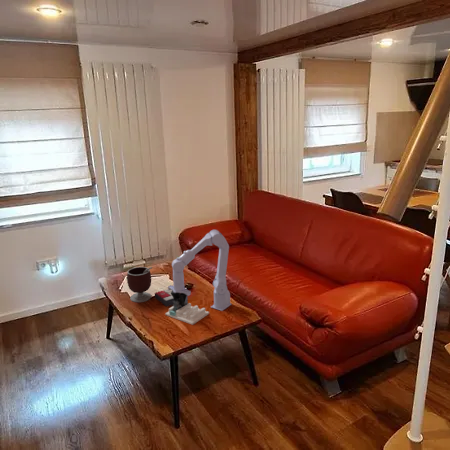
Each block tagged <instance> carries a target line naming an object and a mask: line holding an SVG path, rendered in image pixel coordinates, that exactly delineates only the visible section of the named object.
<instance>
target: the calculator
mask: <svg viewBox="0 0 450 450" xmlns="http://www.w3.org/2000/svg"><path fill="white" fill-rule="evenodd" d="M171 292H172V290H168V288H166V289H164V290H160V291H157V292H155V293H154V299H156V300H157V301H159V302H160V303H162V305H164V306H165V307H170V306H173V300H174V298H173V296H172V295H171Z"/></svg>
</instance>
